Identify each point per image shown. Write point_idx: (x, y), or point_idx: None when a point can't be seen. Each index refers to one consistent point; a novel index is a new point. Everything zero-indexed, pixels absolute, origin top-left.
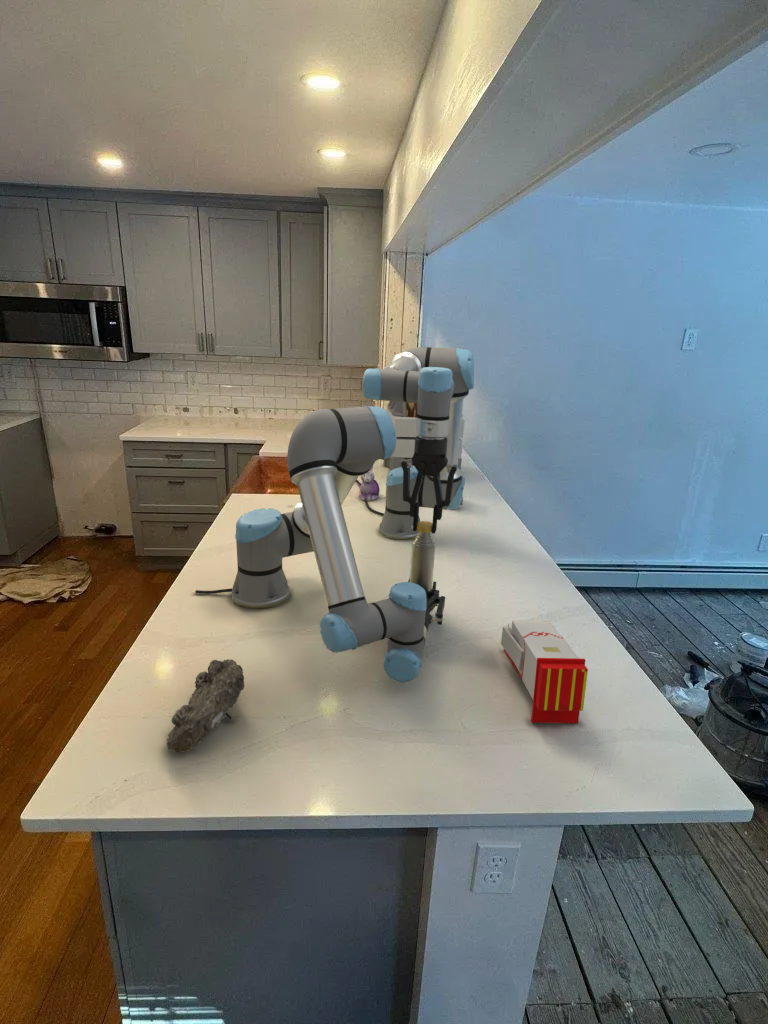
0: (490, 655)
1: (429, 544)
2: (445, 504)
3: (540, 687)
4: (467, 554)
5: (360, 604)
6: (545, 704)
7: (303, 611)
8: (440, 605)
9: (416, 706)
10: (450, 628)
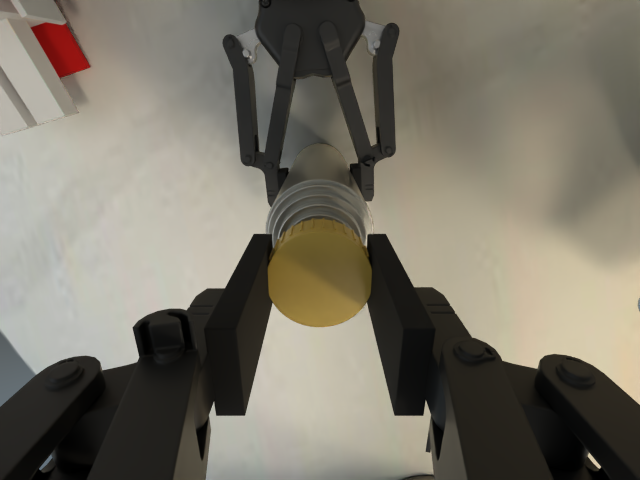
0: (116, 38)
1: (285, 207)
2: (89, 370)
3: None
4: (266, 457)
5: None
6: None
7: (606, 100)
8: (243, 103)
9: None
10: (235, 136)
